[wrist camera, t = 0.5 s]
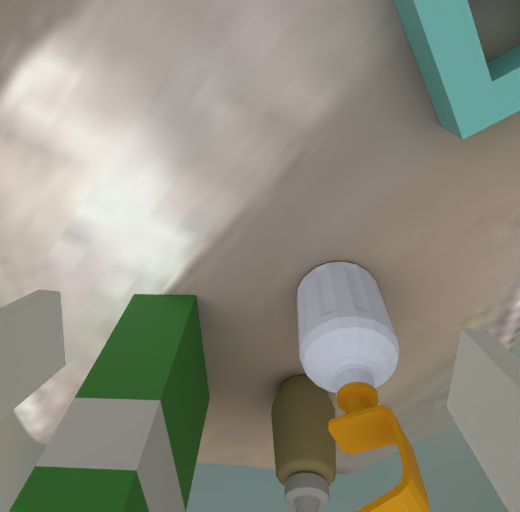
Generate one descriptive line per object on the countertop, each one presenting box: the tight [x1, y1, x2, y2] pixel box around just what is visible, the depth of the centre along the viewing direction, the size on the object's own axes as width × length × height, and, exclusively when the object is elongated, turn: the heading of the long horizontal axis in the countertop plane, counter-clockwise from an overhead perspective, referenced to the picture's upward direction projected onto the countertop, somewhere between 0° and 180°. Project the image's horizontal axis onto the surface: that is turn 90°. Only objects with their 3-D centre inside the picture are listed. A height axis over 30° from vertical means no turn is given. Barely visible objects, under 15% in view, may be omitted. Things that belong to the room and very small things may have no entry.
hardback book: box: [10, 294, 209, 512], centre depth 40 cm, size 18×7×24 cm, turn 1°
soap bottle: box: [297, 262, 430, 512], centre depth 33 cm, size 9×9×25 cm
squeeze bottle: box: [271, 375, 336, 512], centre depth 44 cm, size 8×8×18 cm
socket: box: [393, 0, 520, 139], centre depth 28 cm, size 12×12×5 cm
